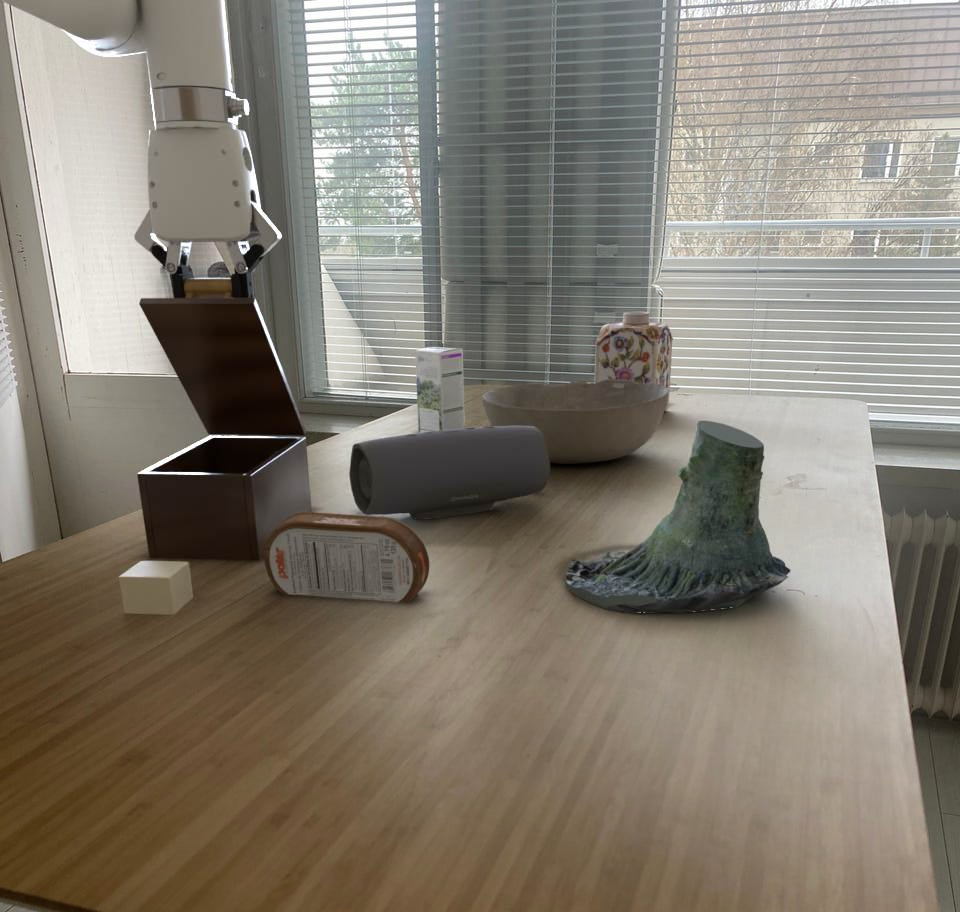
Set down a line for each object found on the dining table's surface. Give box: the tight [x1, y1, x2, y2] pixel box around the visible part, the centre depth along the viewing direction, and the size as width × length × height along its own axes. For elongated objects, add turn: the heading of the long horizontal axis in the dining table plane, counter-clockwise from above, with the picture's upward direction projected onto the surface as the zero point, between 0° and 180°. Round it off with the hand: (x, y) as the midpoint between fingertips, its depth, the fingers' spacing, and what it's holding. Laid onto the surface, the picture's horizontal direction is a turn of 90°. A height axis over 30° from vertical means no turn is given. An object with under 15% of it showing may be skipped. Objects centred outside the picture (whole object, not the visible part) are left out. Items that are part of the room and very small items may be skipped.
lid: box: [138, 277, 307, 436], centre depth 105 cm, size 20×12×5 cm
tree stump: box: [565, 420, 792, 614], centre depth 90 cm, size 18×20×18 cm
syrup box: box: [414, 346, 466, 433], centre depth 159 cm, size 6×6×14 cm
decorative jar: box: [593, 311, 674, 412], centre depth 179 cm, size 12×12×18 cm
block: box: [118, 560, 194, 616], centre depth 86 cm, size 4×4×4 cm
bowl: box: [481, 379, 670, 465], centre depth 146 cm, size 28×28×10 cm
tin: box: [263, 511, 430, 604], centre depth 87 cm, size 15×3×8 cm, turn 77°
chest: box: [136, 435, 313, 561], centre depth 106 cm, size 20×12×10 cm, turn 174°
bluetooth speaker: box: [348, 425, 551, 520], centre depth 117 cm, size 23×9×10 cm, turn 115°
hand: (215, 313), depth 100 cm, fingers closed on lid, 5 cm apart
